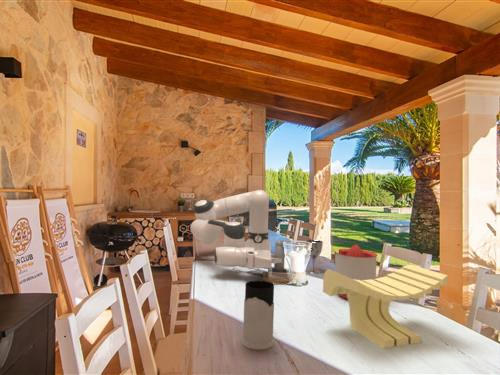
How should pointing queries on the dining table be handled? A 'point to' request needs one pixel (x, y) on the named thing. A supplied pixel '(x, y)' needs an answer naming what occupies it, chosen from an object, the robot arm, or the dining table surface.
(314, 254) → the wine glass
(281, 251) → the pipe elbow
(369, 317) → the slatted curved stool
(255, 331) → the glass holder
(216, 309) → the dining table surface
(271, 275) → the collar plate
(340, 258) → the citrus juicer
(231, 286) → the dining table surface
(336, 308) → the dining table surface
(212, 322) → the dining table surface
